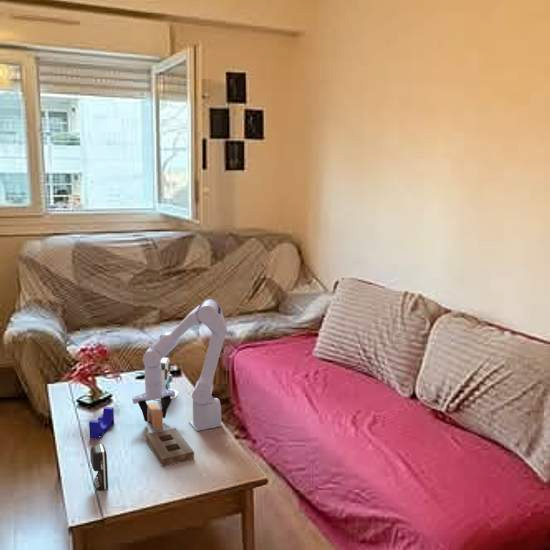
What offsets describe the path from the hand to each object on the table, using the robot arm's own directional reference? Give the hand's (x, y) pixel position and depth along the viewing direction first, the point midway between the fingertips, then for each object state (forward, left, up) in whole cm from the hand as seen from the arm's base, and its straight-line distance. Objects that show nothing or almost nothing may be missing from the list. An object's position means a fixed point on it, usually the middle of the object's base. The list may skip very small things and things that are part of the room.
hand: (154, 418), depth 207 cm
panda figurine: (-10, -23, -2) cm, 25 cm away
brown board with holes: (+1, +20, -2) cm, 20 cm away
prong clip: (0, 0, -2) cm, 2 cm away
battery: (+25, +31, -2) cm, 40 cm away
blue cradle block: (+18, -3, -2) cm, 18 cm away
